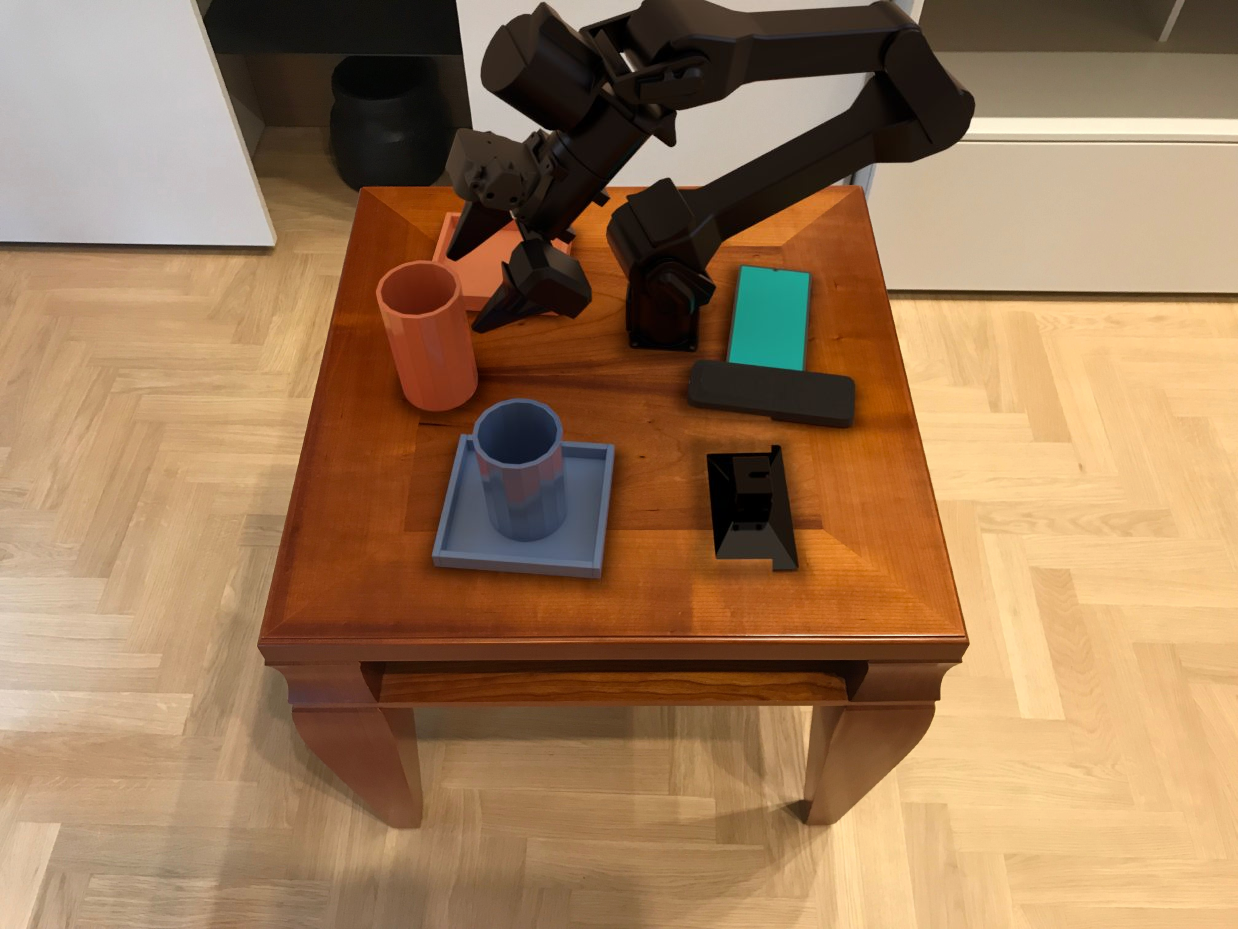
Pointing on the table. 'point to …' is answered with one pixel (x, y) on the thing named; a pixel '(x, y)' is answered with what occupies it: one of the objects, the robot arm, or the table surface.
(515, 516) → the blue cup
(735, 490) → the black stand
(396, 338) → the rust cup
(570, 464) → the blue tray
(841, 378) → the remote control
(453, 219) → the rust tray
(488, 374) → the table surface
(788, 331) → the smartphone
